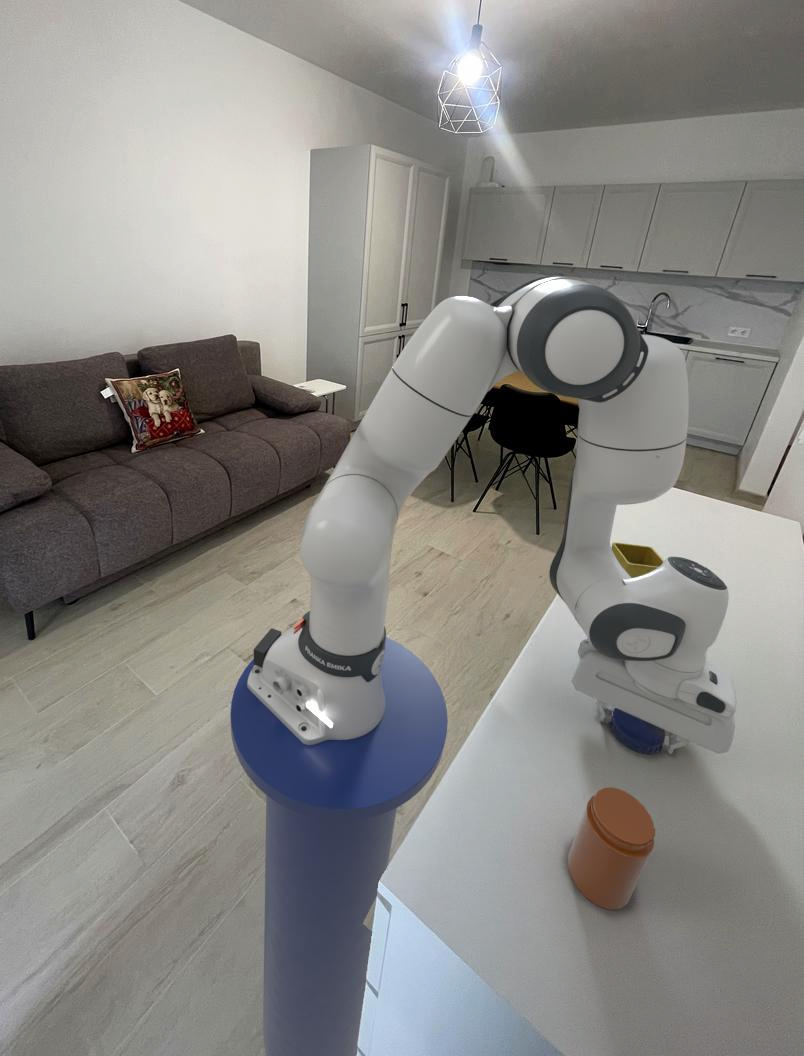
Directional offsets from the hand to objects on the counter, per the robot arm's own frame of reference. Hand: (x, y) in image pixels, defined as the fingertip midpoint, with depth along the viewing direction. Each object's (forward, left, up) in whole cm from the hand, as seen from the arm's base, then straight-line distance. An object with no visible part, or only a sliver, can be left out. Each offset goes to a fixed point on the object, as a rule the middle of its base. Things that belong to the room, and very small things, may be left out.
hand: (634, 735), depth 75 cm
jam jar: (-2, -24, +1) cm, 24 cm away
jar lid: (0, 0, +2) cm, 2 cm away
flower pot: (-4, +41, 0) cm, 41 cm away
